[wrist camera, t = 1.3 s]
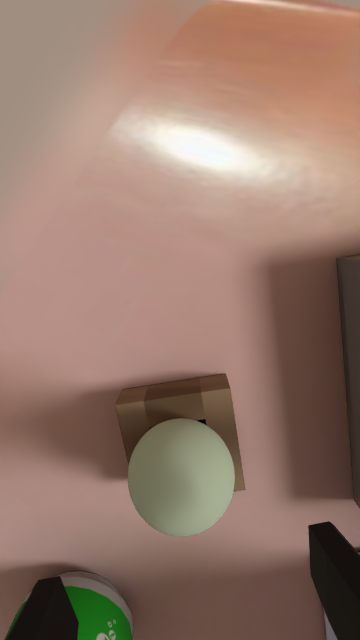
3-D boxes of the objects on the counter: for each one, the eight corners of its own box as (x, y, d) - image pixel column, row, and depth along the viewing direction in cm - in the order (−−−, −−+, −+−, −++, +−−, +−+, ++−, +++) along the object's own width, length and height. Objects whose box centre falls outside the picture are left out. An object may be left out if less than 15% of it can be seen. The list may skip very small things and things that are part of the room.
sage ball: (233, 477, 19) (250, 558, 14) (145, 488, 19) (131, 573, 14) (220, 394, 18) (233, 450, 13) (128, 408, 18) (105, 468, 13)
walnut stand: (239, 466, 20) (245, 489, 18) (142, 479, 20) (137, 504, 18) (225, 373, 19) (230, 388, 17) (122, 389, 19) (115, 405, 17)
